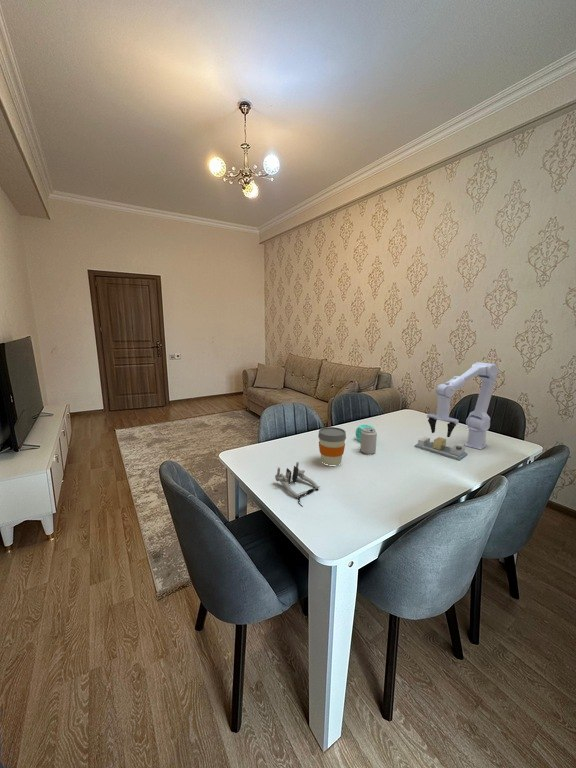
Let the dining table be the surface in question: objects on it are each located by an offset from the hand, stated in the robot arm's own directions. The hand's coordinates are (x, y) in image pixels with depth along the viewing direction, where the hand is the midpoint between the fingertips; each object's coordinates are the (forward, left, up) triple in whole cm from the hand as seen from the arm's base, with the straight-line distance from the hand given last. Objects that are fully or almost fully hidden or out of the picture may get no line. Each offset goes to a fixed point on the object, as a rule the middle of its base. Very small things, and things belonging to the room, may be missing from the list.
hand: (440, 434), depth 155 cm
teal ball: (+17, -33, -9) cm, 38 cm away
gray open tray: (0, 0, -9) cm, 9 cm away
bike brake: (+79, -18, -9) cm, 82 cm away
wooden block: (0, 0, -8) cm, 8 cm away
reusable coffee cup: (+52, -27, -9) cm, 59 cm away
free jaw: (0, +8, -8) cm, 11 cm away
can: (+29, -23, -9) cm, 38 cm away
